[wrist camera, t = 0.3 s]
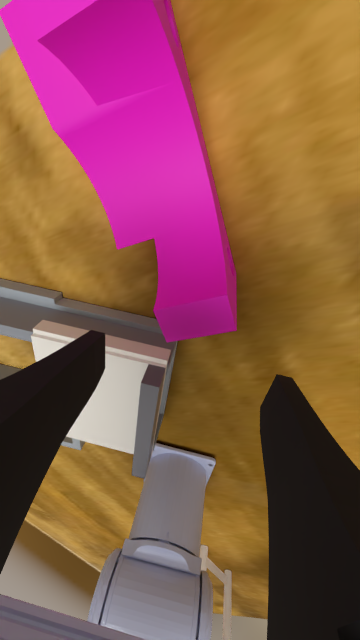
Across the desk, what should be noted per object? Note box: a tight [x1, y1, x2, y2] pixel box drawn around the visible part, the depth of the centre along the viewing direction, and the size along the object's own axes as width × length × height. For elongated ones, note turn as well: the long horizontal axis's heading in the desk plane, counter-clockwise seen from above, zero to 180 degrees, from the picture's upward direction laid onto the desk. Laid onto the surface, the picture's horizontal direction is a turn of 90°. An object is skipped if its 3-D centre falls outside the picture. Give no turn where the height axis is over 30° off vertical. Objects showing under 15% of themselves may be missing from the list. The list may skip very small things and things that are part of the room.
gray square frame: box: [0, 279, 178, 450], centre depth 27 cm, size 22×22×4 cm
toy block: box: [0, 0, 237, 342], centre depth 14 cm, size 15×6×8 cm, turn 19°
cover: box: [31, 320, 171, 479], centre depth 21 cm, size 12×10×3 cm
